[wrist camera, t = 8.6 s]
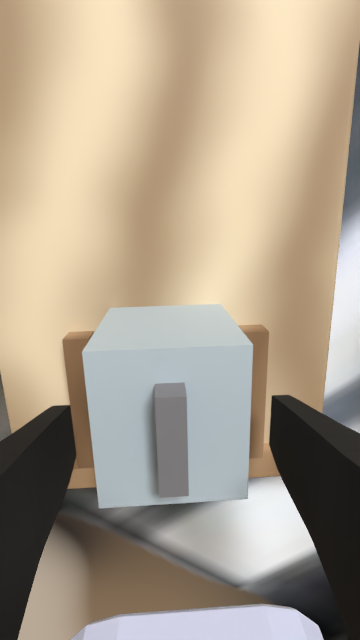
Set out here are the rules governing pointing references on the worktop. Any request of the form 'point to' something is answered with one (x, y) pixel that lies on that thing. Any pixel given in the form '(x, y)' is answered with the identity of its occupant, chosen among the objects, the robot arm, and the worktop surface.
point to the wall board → (171, 186)
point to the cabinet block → (169, 405)
